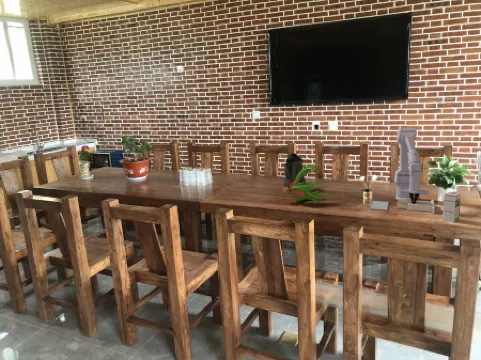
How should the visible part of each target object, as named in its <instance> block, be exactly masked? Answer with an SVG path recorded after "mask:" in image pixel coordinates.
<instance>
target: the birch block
mask: <svg viewBox="0 0 481 360" xmlns="http://www.w3.org/2000/svg"><path fill="white" fill-rule="evenodd" d="M408 204H411V198H409V199H407V198H398V200H397V203H396V209H399V210H400V209H403V210H407V206H408Z"/></svg>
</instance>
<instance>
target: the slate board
mask: <svg viewBox="0 0 481 360" xmlns="http://www.w3.org/2000/svg"><path fill="white" fill-rule="evenodd" d="M389 203H390V202H389V201H380V200H373V201H372V202H371V206H370V210H374V211H375V210H377V211H388V208H389Z"/></svg>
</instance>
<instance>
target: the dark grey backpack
mask: <svg viewBox="0 0 481 360" xmlns="http://www.w3.org/2000/svg"><path fill="white" fill-rule="evenodd" d="M303 161H304V159H303V158H302V157H300V156H299V155H298V154H297V153H290V155H289V156H288V157H287V158H286V159H285V164H284V166H283V171H284V175H285V176H284V181H283V185H282V186H283V188H284V187H288V188H289V185H290V183H291V184H292V183H293V182H294V181H295V179H296V176H297V174H298V173H299V172H300V171H301V170H302V169H303V168H304V167H303ZM291 181H292V182H291ZM303 182H304V183H303ZM299 183H301V184H305V183H307V180H306V178H305V175H304V176H303V177H301V179H300V180H299V182H298V185H299Z"/></svg>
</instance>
